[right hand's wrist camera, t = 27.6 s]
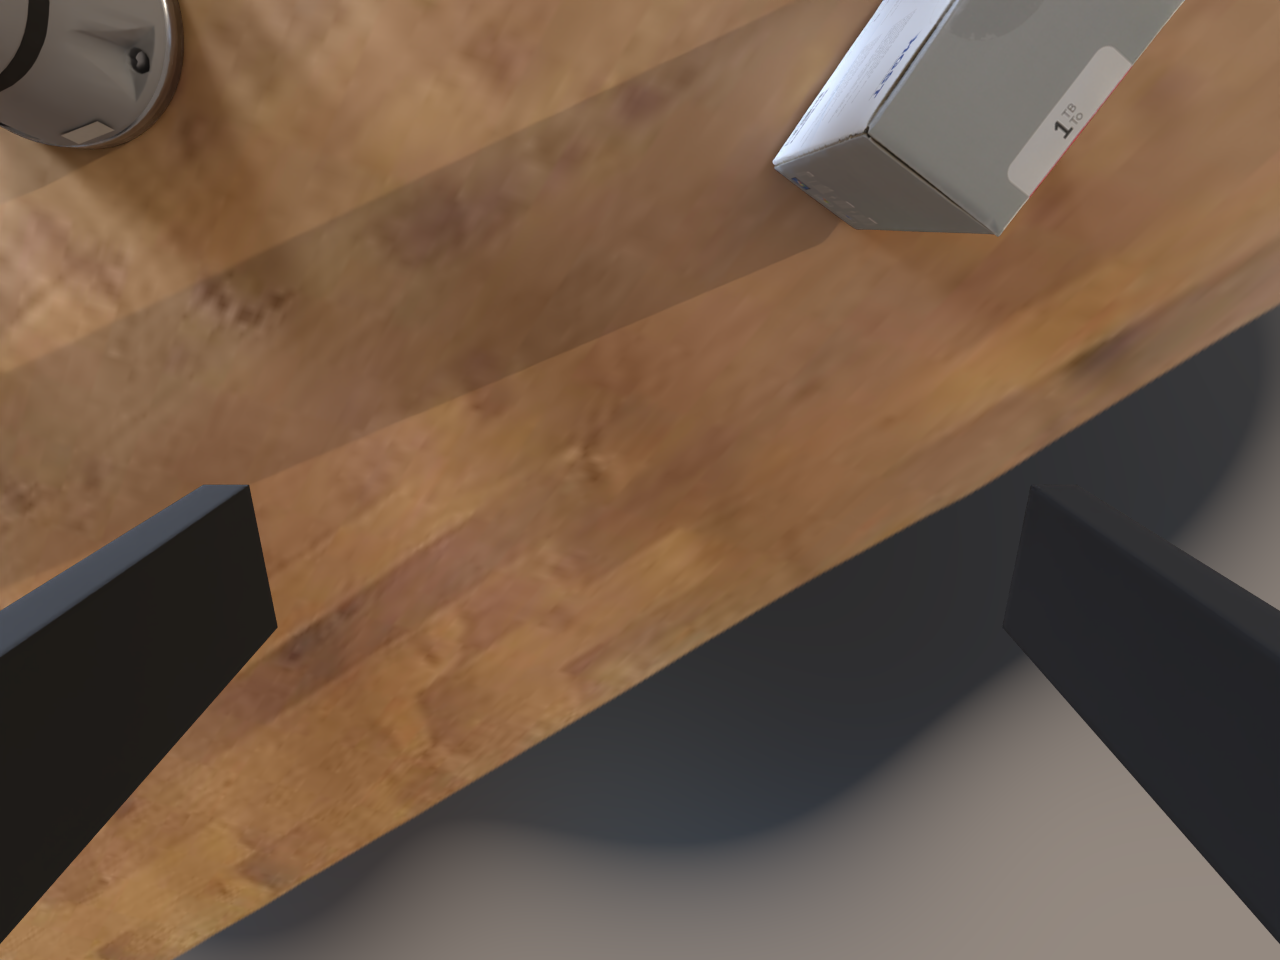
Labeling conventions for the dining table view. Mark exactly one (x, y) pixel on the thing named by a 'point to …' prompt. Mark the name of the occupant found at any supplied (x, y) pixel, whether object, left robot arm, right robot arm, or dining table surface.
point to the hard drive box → (961, 107)
